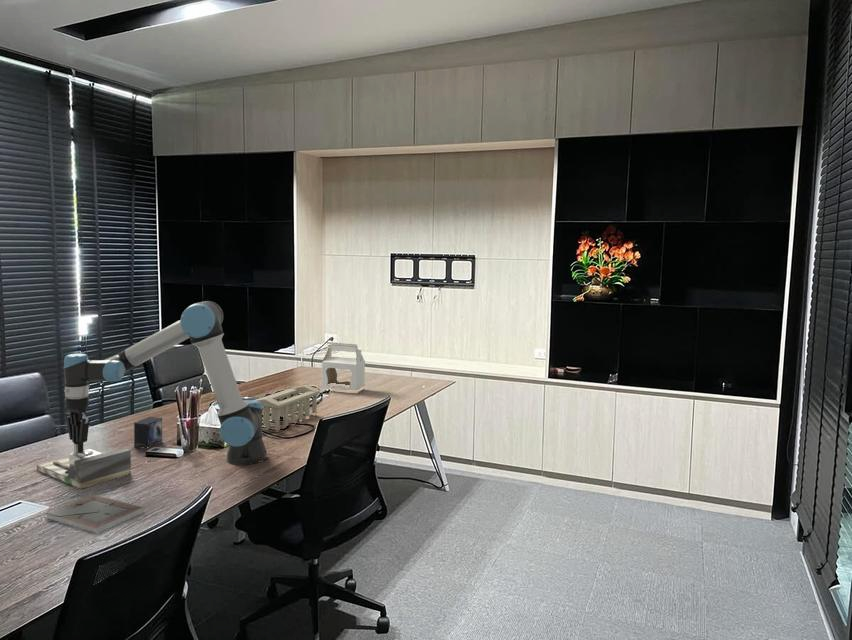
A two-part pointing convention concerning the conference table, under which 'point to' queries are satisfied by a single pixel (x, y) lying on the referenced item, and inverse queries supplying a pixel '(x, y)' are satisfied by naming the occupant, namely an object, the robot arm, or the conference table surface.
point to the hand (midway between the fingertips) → (79, 459)
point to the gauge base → (90, 468)
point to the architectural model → (288, 405)
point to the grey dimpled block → (81, 456)
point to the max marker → (71, 472)
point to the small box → (147, 432)
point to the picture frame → (95, 513)
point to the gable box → (343, 367)
